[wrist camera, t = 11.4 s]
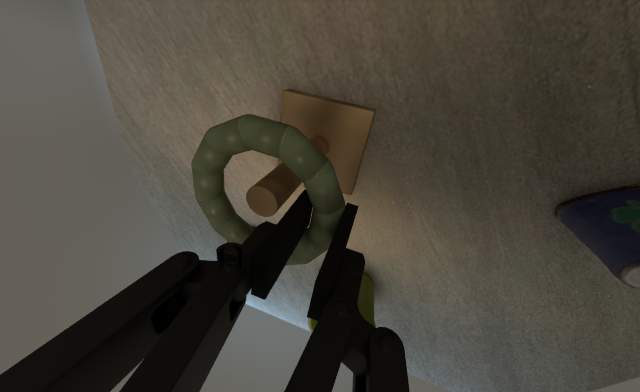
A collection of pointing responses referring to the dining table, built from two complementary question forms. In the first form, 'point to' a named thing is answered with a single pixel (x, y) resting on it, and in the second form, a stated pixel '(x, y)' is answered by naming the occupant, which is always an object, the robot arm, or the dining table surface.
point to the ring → (293, 153)
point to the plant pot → (360, 302)
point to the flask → (609, 229)
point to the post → (327, 135)
